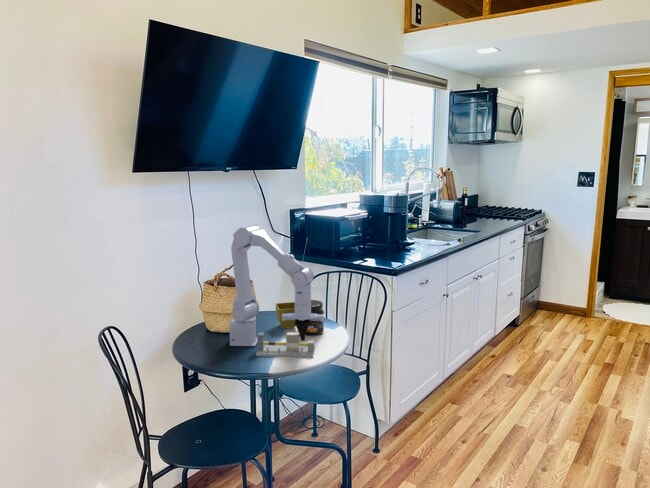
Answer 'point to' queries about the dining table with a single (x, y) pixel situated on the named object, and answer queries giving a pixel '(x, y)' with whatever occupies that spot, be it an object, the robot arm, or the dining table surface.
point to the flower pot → (285, 309)
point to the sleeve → (293, 341)
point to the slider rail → (283, 348)
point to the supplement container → (315, 326)
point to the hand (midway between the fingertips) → (302, 339)
